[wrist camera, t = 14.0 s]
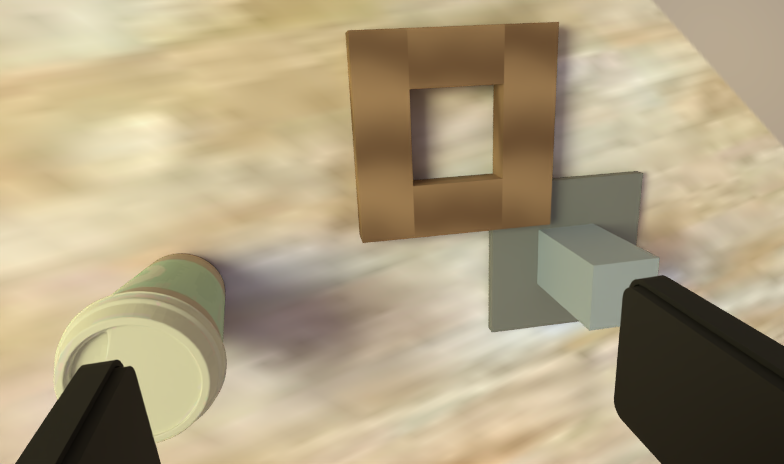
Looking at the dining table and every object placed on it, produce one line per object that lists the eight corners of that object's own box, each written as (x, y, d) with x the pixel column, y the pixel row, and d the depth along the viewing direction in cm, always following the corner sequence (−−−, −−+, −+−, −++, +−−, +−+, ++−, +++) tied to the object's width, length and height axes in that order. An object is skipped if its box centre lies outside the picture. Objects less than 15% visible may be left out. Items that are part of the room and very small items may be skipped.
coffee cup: (181, 210, 36) (128, 272, 25) (269, 293, 39) (256, 383, 28) (92, 289, 37) (0, 385, 26) (184, 365, 40) (138, 483, 28)
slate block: (538, 229, 40) (593, 265, 33) (593, 223, 41) (659, 257, 33) (537, 283, 42) (589, 330, 34) (590, 277, 42) (653, 321, 35)
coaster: (489, 183, 39) (493, 186, 39) (636, 171, 41) (642, 173, 40) (488, 327, 43) (492, 332, 42) (623, 310, 45) (629, 314, 44)
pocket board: (345, 32, 35) (348, 30, 33) (545, 24, 37) (558, 22, 35) (359, 234, 39) (362, 242, 37) (538, 217, 41) (550, 224, 39)
